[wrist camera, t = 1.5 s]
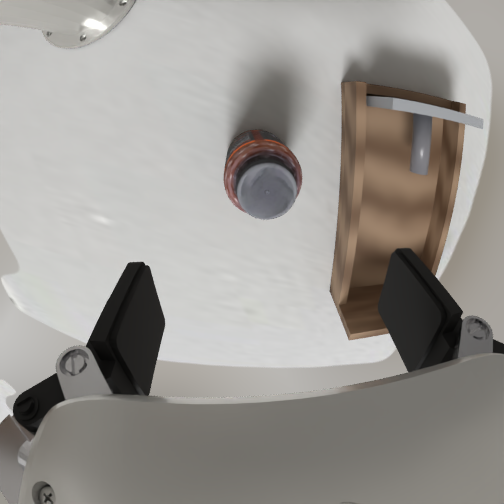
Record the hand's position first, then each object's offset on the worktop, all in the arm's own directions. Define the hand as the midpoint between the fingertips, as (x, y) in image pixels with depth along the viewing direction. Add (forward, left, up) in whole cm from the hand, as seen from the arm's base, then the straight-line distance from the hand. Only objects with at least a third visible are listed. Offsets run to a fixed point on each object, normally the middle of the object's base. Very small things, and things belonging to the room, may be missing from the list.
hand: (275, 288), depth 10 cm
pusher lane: (+4, +17, -20) cm, 27 cm away
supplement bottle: (-1, +1, -21) cm, 21 cm away
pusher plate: (-4, +16, -19) cm, 26 cm away
